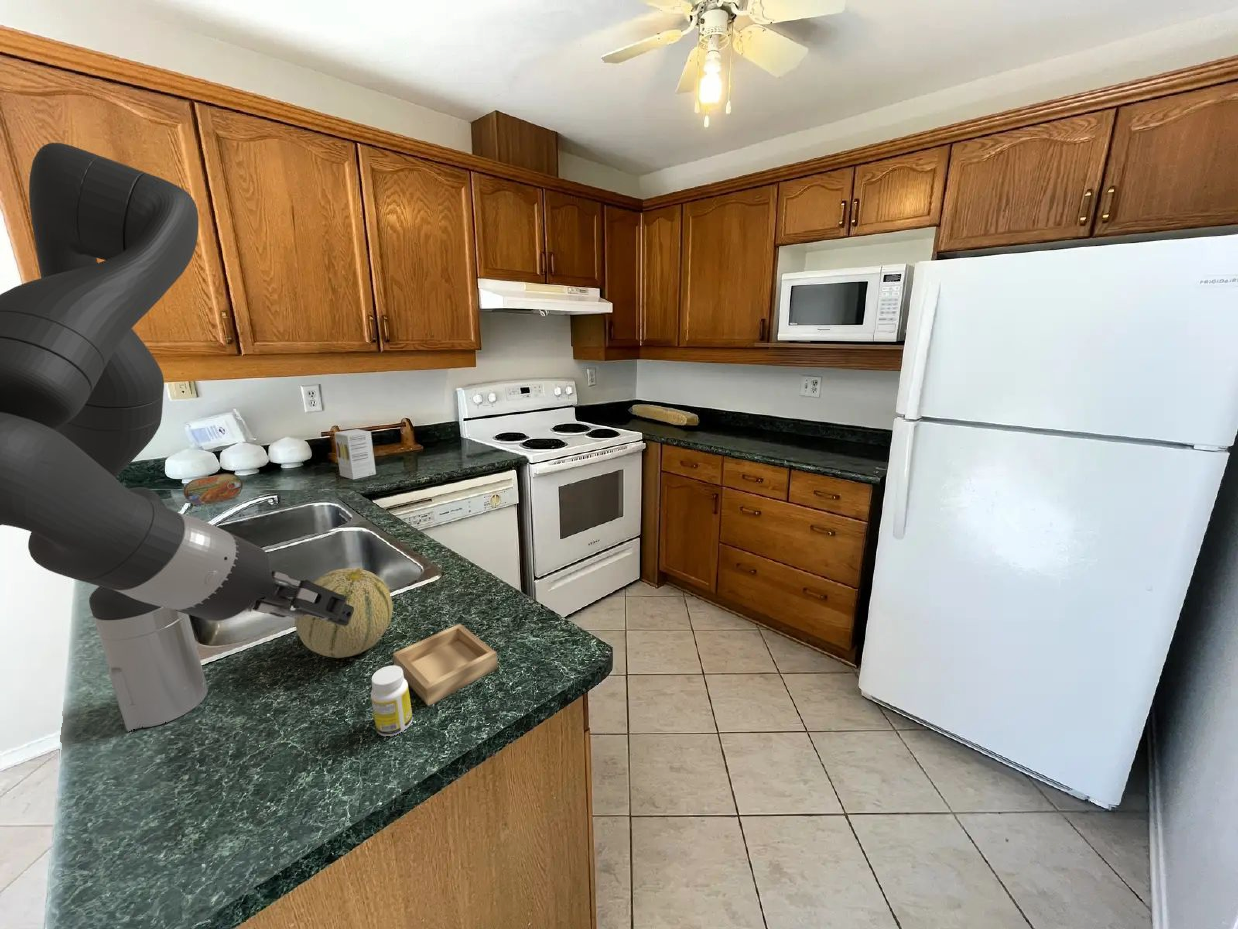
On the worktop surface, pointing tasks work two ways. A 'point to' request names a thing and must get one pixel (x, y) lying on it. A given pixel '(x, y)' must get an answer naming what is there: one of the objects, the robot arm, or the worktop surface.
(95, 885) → the worktop surface
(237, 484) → the tin
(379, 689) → the supplement bottle
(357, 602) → the cantaloupe
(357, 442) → the supplement box
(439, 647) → the box
